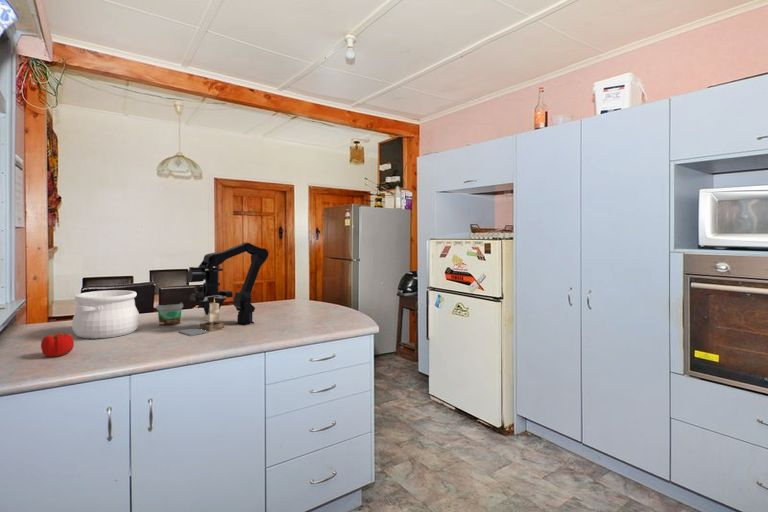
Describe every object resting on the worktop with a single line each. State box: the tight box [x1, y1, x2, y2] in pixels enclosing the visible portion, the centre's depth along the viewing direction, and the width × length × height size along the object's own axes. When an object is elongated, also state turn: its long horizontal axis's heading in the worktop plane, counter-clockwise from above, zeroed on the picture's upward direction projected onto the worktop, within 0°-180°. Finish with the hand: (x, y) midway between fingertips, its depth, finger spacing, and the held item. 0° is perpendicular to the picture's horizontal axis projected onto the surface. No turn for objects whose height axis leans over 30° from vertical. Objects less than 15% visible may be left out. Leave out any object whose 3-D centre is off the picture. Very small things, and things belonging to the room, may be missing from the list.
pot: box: [71, 289, 141, 340], centre depth 176 cm, size 26×24×18 cm
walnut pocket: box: [198, 321, 225, 332], centre depth 188 cm, size 8×8×2 cm
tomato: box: [40, 332, 75, 358], centre depth 145 cm, size 9×9×8 cm
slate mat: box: [178, 327, 209, 337], centre depth 181 cm, size 8×10×1 cm
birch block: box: [204, 301, 220, 322], centre depth 188 cm, size 4×4×8 cm
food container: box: [155, 301, 184, 327], centre depth 195 cm, size 12×6×10 cm, turn 143°
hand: (211, 313), depth 188 cm, fingers closed on birch block, 4 cm apart
